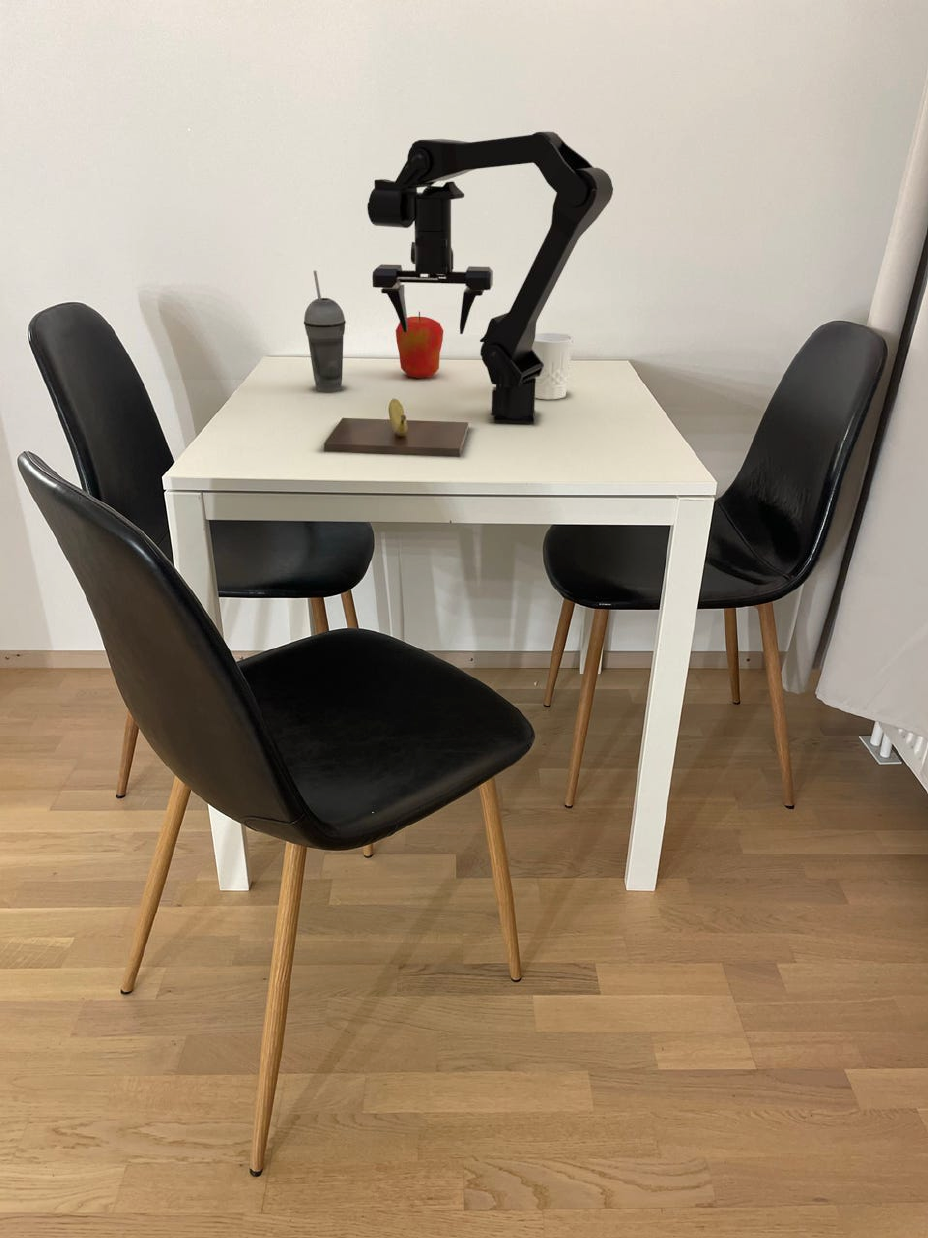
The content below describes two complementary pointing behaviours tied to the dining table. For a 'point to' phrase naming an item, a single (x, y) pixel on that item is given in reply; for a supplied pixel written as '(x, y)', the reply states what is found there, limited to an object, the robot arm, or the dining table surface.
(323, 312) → the beverage cup
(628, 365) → the dining table surface
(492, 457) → the dining table surface
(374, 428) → the walnut board
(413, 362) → the apple
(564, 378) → the white cup
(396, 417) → the banana
